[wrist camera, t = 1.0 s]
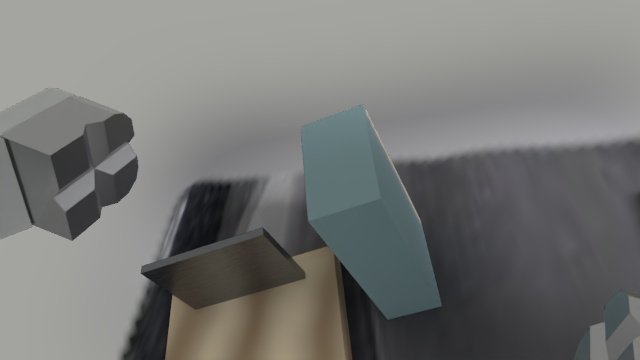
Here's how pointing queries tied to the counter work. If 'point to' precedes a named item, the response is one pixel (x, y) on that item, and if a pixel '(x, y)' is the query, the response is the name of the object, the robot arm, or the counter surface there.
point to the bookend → (225, 270)
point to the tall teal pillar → (367, 213)
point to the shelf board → (270, 320)
